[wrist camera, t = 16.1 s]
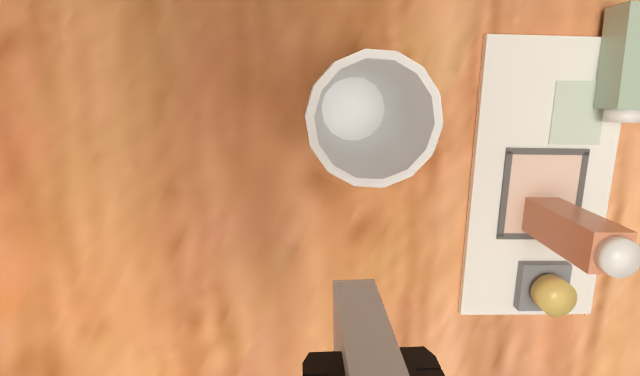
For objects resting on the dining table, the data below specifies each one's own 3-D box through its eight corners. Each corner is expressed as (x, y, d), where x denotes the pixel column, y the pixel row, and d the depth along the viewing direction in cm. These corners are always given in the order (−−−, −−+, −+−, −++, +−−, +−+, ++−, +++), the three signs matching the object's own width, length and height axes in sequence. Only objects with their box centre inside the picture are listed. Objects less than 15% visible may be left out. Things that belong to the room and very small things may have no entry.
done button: (532, 274, 47) (543, 282, 45) (568, 273, 47) (579, 282, 45) (528, 307, 47) (538, 317, 45) (563, 307, 48) (574, 317, 46)
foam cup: (381, 41, 43) (417, 26, 31) (415, 134, 45) (461, 156, 33) (287, 82, 44) (283, 83, 31) (324, 172, 46) (335, 207, 33)
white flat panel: (483, 34, 44) (492, 32, 42) (629, 38, 44) (644, 36, 42) (457, 311, 50) (464, 320, 48) (585, 310, 51) (597, 319, 49)
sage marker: (604, 8, 43) (631, 0, 40) (640, 9, 43) (669, 1, 40) (591, 121, 45) (615, 122, 41) (626, 121, 45) (652, 123, 42)
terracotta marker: (525, 197, 46) (604, 237, 35) (558, 197, 47) (648, 237, 35) (521, 230, 47) (597, 280, 35) (554, 230, 47) (641, 280, 35)
